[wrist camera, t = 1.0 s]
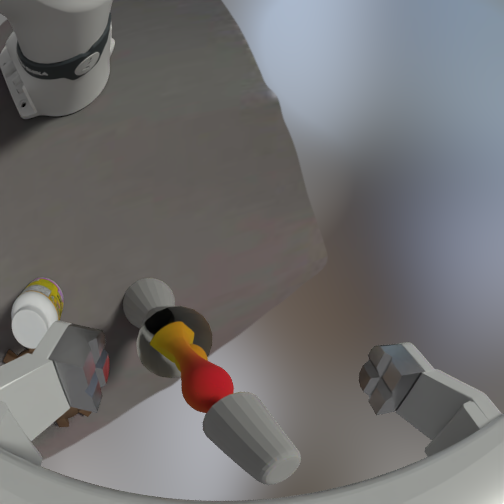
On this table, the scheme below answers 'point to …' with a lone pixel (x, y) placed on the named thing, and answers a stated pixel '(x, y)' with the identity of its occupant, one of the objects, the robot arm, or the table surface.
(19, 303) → the supplement bottle
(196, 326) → the lava lamp
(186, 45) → the table surface
